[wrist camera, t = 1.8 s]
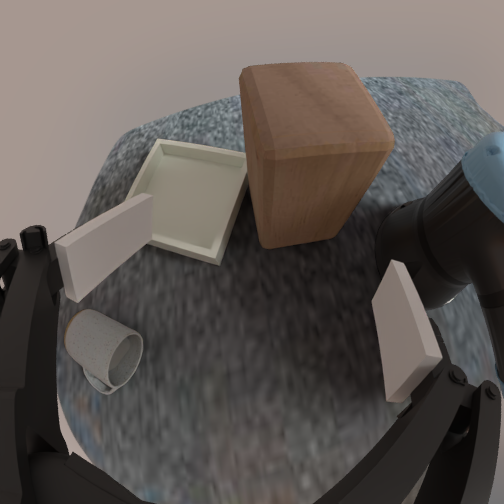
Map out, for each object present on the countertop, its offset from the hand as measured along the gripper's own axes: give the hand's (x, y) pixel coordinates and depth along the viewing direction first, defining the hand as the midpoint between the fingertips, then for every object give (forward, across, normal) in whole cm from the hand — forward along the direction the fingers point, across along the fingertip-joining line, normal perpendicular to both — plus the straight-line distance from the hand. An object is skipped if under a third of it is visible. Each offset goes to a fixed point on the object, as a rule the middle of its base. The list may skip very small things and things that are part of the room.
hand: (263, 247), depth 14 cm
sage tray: (+21, -13, -7) cm, 26 cm away
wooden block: (+22, 0, -6) cm, 23 cm away
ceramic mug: (+5, -16, -24) cm, 29 cm away
